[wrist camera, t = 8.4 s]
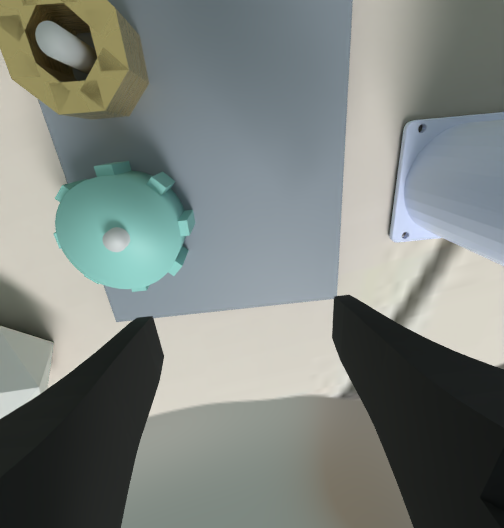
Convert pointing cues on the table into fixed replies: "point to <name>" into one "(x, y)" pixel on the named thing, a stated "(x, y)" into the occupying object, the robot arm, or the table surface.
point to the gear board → (210, 158)
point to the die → (22, 368)
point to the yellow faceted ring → (61, 75)
